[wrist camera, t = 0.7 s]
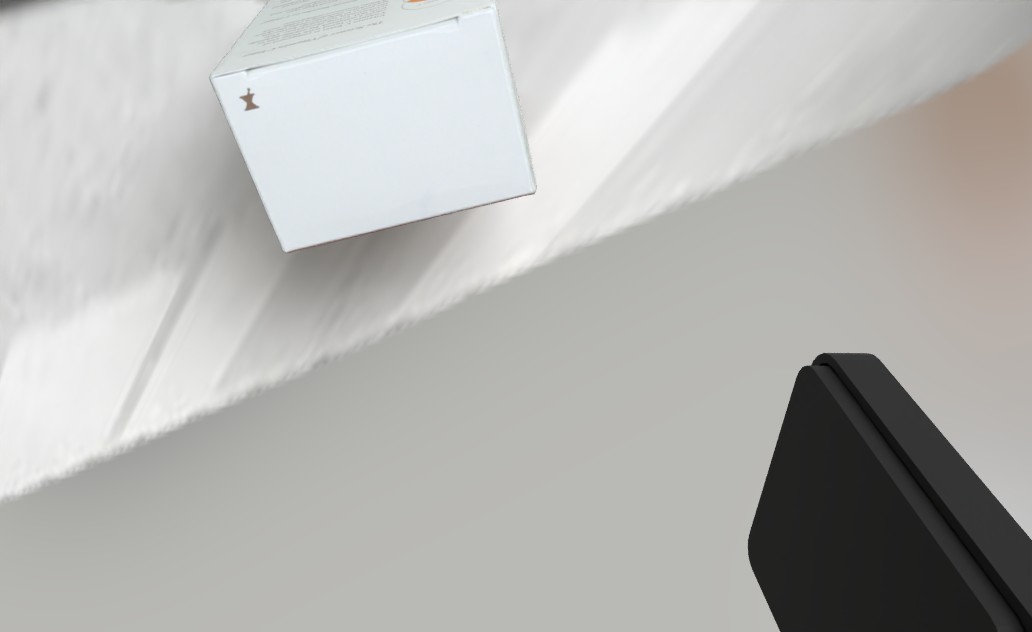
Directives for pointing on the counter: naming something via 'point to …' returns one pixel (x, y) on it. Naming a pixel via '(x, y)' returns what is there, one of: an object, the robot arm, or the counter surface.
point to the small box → (374, 114)
